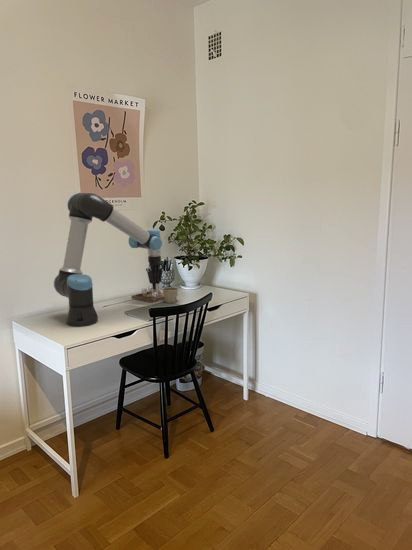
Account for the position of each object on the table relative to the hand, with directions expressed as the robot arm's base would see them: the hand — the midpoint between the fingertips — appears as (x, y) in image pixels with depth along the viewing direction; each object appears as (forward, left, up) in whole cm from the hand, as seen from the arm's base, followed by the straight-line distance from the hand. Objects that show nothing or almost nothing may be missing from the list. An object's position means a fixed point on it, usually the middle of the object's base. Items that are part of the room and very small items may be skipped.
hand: (155, 294), depth 255 cm
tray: (0, +1, -3) cm, 3 cm away
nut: (-7, 0, -2) cm, 7 cm away
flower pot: (-2, -14, -3) cm, 14 cm away
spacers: (+1, 0, -2) cm, 2 cm away
